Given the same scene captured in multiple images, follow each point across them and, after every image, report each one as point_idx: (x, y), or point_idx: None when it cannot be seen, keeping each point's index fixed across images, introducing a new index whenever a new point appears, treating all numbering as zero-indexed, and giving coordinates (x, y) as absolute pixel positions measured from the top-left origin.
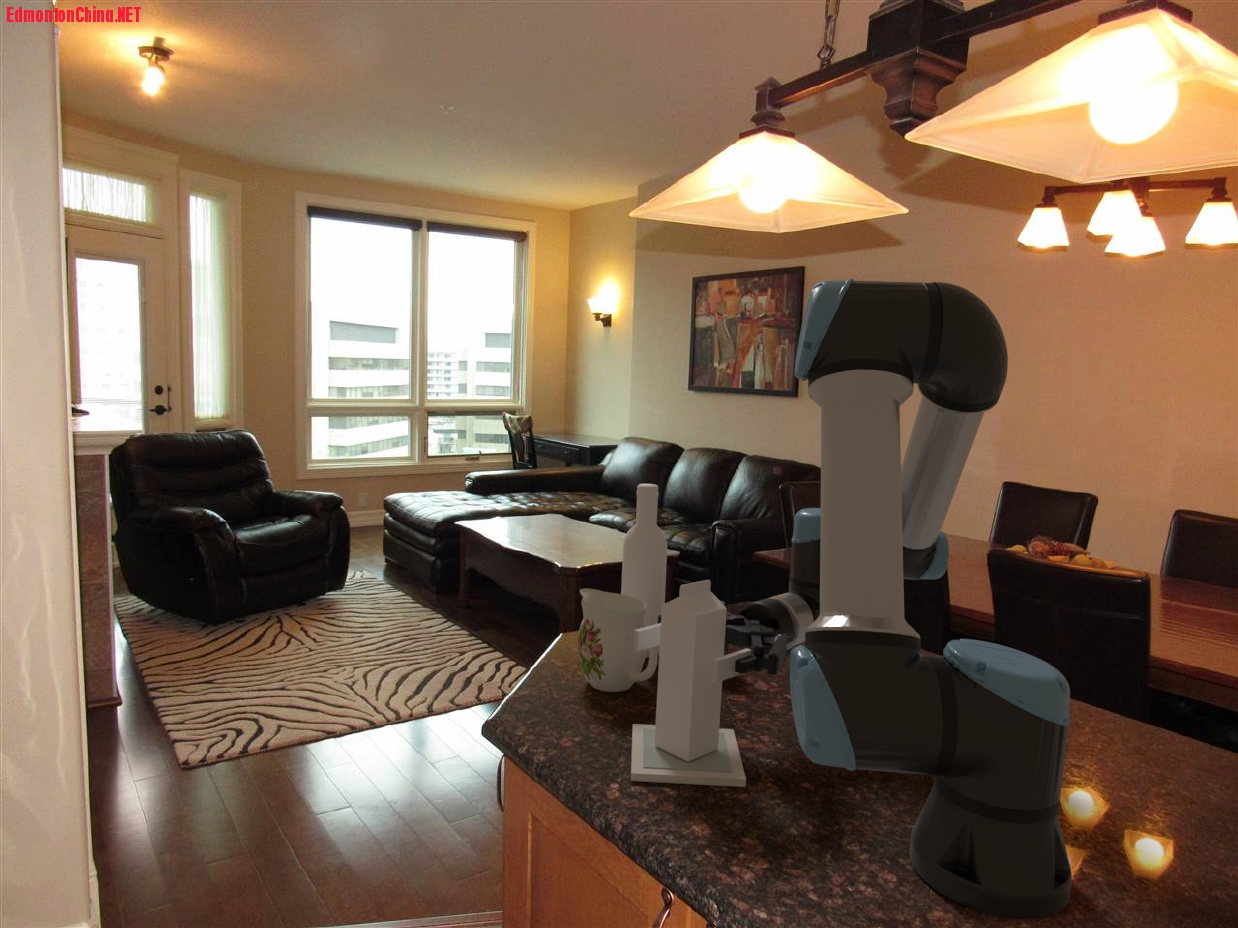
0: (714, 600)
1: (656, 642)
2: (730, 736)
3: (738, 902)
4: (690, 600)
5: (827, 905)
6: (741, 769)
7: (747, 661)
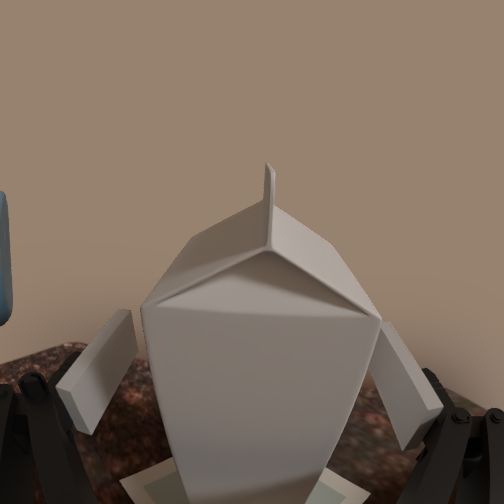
0: (202, 266)
1: (387, 400)
2: None
3: (81, 346)
4: (242, 216)
5: (28, 363)
6: (136, 501)
7: (65, 360)
